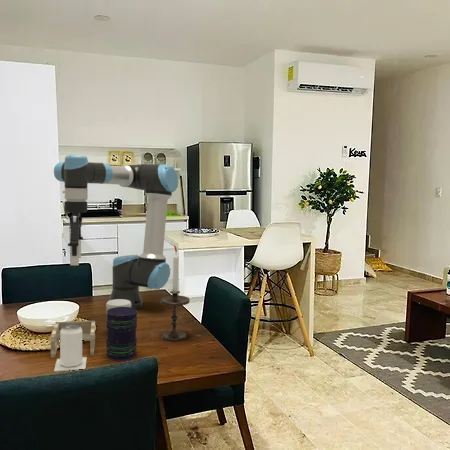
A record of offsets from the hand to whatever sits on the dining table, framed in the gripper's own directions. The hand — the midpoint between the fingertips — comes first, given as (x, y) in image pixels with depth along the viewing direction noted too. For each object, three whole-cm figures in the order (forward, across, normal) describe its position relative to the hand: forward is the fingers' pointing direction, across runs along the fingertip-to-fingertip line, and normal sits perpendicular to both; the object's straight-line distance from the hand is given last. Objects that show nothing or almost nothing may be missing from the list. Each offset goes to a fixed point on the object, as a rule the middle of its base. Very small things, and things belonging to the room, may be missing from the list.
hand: (75, 261), depth 159 cm
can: (+28, +21, 0) cm, 35 cm away
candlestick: (+29, +1, +35) cm, 45 cm away
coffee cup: (+29, -6, +15) cm, 33 cm away
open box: (+29, +7, 0) cm, 30 cm away
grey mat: (+29, +21, 0) cm, 35 cm away
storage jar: (+29, +15, +15) cm, 36 cm away
